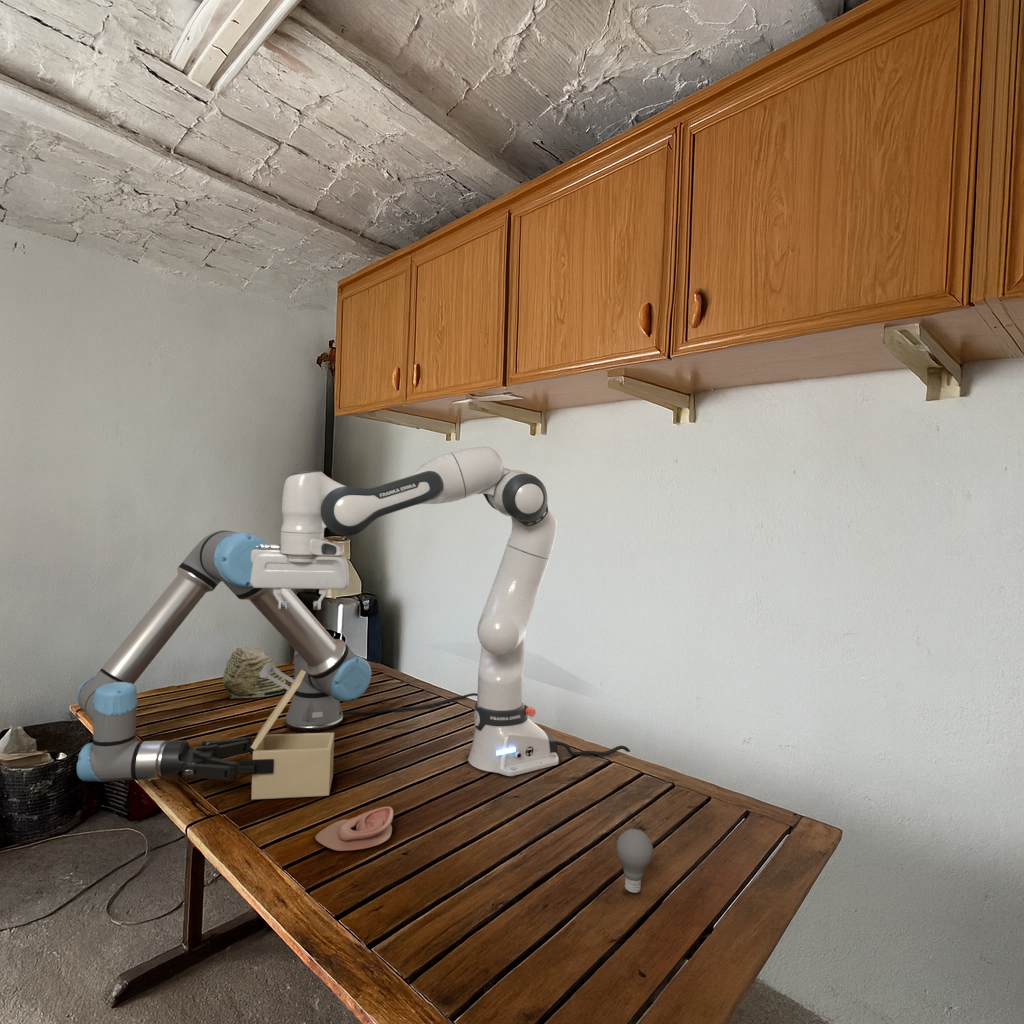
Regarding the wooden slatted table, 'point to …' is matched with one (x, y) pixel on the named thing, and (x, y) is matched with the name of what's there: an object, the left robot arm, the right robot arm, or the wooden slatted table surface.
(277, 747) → the chest
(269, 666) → the lid
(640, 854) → the light bulb
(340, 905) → the wooden slatted table surface
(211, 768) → the left robot arm
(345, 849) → the anatomical model
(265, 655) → the fossil
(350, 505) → the right robot arm
